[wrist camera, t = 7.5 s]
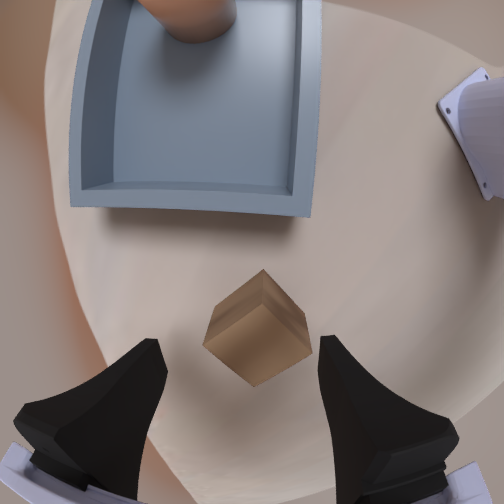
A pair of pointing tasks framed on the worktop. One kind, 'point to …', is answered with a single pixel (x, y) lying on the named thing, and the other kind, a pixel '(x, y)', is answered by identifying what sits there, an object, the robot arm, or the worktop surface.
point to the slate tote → (197, 111)
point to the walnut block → (258, 330)
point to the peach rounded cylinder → (193, 18)
